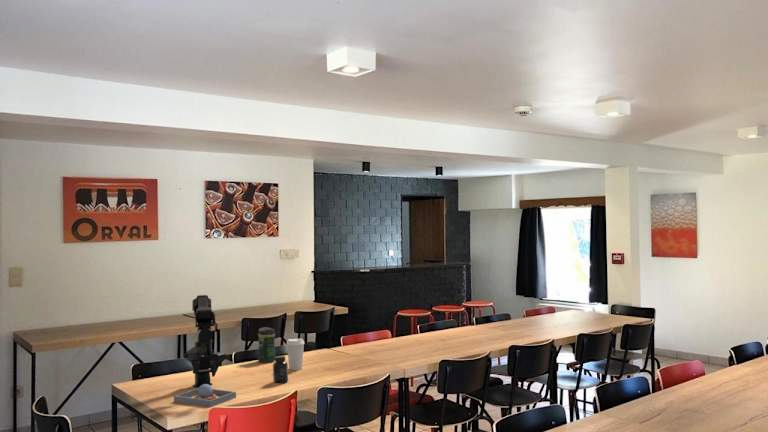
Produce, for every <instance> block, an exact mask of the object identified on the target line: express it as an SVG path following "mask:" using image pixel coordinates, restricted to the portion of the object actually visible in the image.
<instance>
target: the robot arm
mask: <svg viewBox="0 0 768 432" xmlns="http://www.w3.org/2000/svg"><path fill="white" fill-rule="evenodd" d="M191 302H192V306H191V307H192V309H191V310H192V312H193V315H194V321H195V325H194V326H195V328H197V341H195V344H194V346H193V347H191V348H190V349H189V350H185V352H184V354H183V358H184V359H185V360H186V361H188V362H189V363H190V364H191V366H192V374H193V375H194V384H192V387H195V388H196V387H197V388H199V387H200V386H201V385H203V384H208V385H210V386H211V385H213V383H212V382H211V377H213V378H214V377H215V375H216V373H217V371H218V369H219V367H220V365H221V363H222V362H223V361H224V360H226V359H227V355H226V353H225V352H223V351H216V352H214V349H212V344H214V342H215V341H214V340H212V339H213V334H214V333H213V331H212V327H215V324H216V314H215V312H214V311H213V309H212V299H211V298H210V297H209V295H207V294H200V295H196V298H194V299H193V300H192V301H191Z"/></svg>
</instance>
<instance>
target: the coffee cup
mask: <svg viewBox="0 0 768 432" xmlns="http://www.w3.org/2000/svg"><path fill="white" fill-rule="evenodd" d="M285 344H286V349H287V356H288V368H289V369H288V370H290V371H299V370H303V363H304V362H303V361H304V360H303V358H304V348H305V347H304V345H305V341H304V339H303V338H289V339H287V341H286V343H285Z"/></svg>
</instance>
